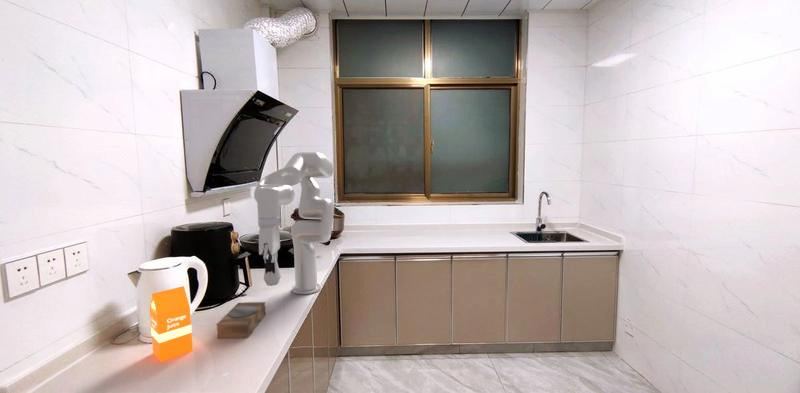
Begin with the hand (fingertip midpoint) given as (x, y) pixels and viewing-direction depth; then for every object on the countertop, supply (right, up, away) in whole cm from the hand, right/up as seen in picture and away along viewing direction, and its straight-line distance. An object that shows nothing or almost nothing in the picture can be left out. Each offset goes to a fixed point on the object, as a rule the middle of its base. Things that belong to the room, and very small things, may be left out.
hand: (271, 271), depth 133 cm
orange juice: (-24, -21, -19) cm, 37 cm away
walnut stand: (-10, -19, -1) cm, 22 cm away
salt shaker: (0, -5, +1) cm, 5 cm away
